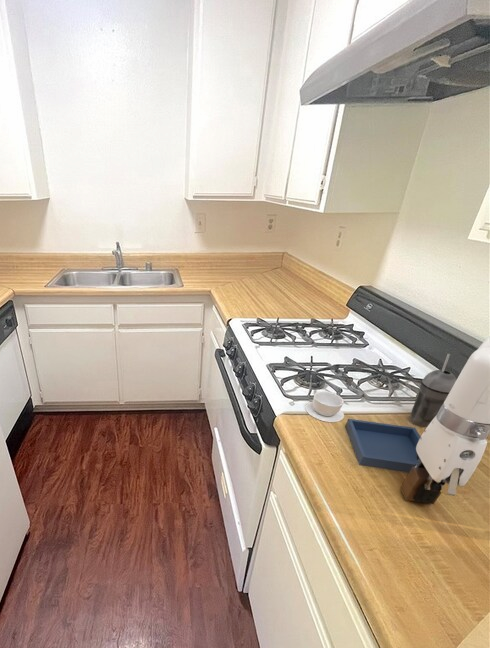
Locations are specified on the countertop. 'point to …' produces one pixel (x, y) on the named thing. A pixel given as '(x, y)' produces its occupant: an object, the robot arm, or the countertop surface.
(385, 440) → the tray
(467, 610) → the countertop surface
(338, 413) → the teacup
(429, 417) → the beverage cup
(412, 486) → the block
